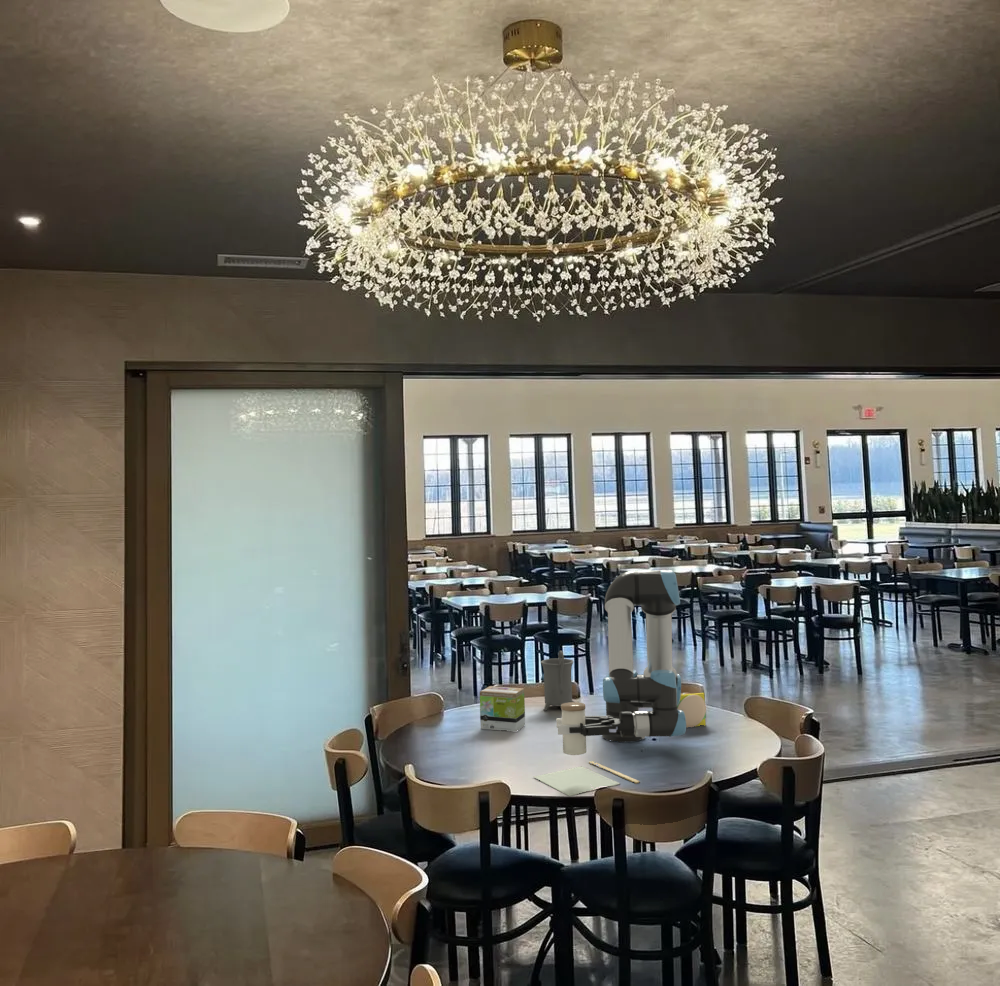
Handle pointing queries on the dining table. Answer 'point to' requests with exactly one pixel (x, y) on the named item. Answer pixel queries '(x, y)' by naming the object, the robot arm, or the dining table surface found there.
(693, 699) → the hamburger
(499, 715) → the tea box
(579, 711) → the canister
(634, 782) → the tan wooden stick
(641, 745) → the dining table surface
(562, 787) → the mat
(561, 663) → the grey footed bucket
